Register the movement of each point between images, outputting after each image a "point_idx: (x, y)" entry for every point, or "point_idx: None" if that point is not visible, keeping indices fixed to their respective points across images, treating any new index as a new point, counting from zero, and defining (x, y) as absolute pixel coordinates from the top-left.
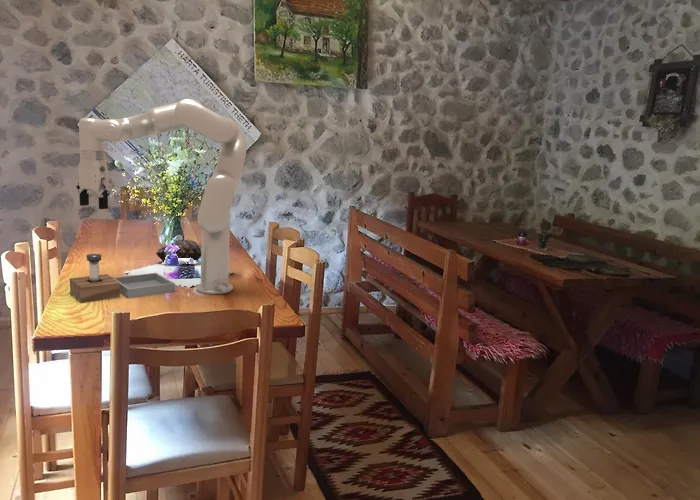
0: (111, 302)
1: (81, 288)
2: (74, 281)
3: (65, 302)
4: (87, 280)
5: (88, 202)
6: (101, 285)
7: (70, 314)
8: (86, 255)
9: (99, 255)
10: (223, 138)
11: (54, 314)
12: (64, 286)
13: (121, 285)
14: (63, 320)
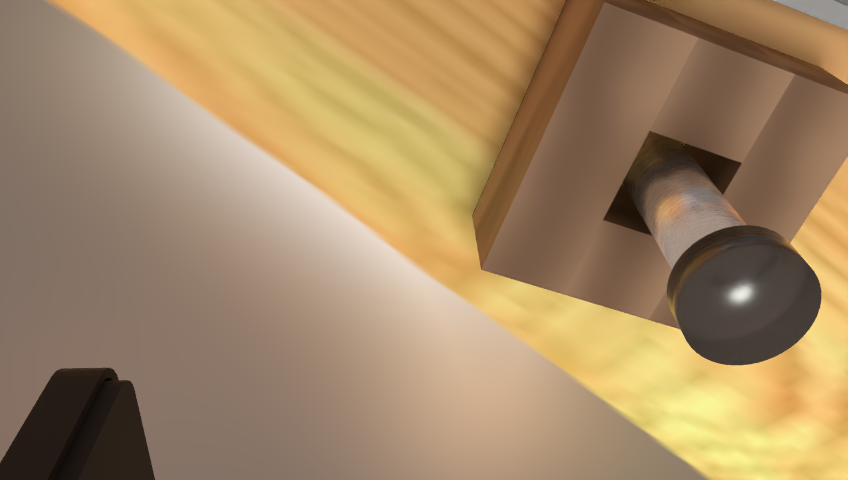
0: (843, 172)
1: None
2: (574, 292)
3: (609, 329)
4: (606, 207)
5: (107, 434)
6: (797, 227)
7: (789, 413)
8: (701, 355)
9: (808, 286)
10: None
11: (722, 452)
12: (299, 149)
13: (792, 7)
14: (824, 469)
